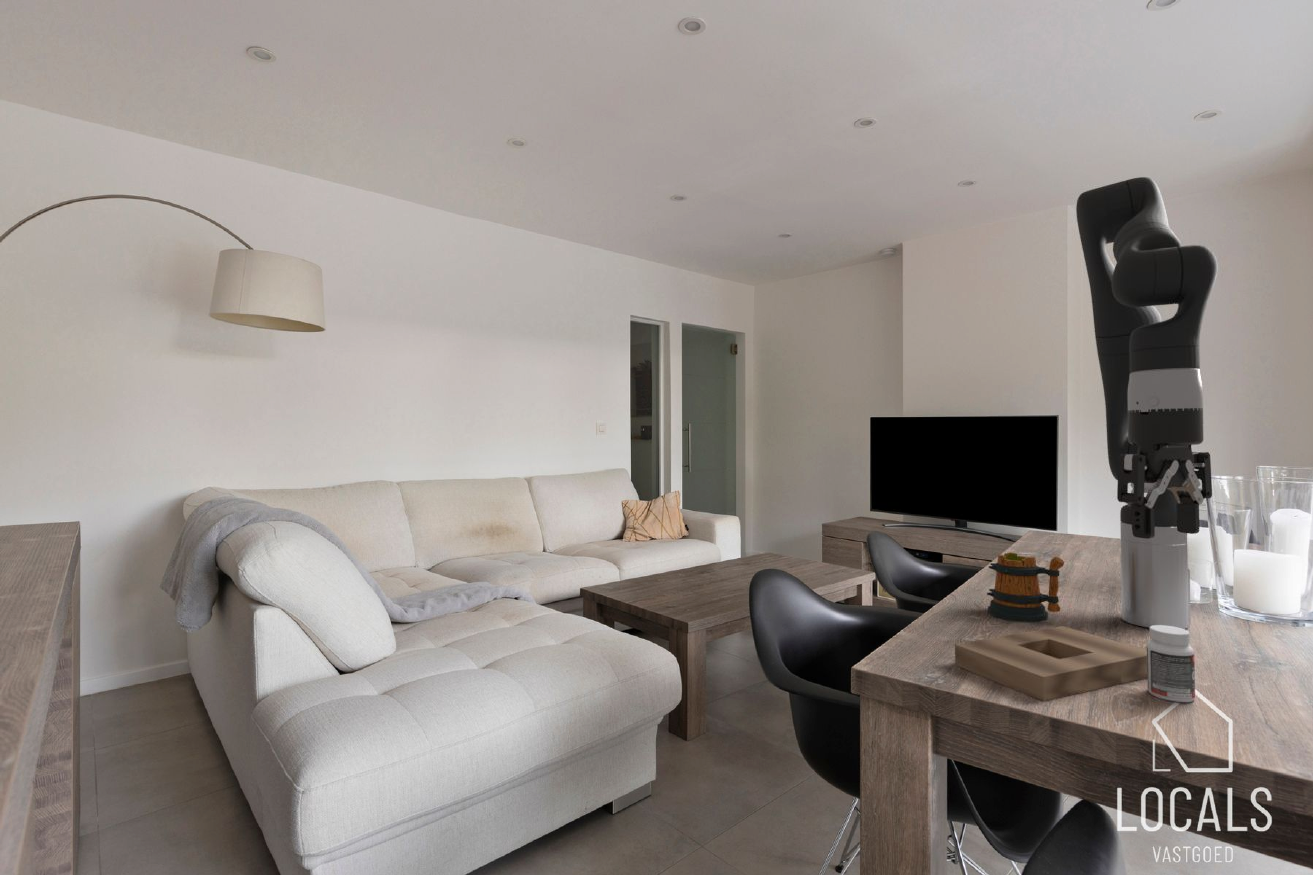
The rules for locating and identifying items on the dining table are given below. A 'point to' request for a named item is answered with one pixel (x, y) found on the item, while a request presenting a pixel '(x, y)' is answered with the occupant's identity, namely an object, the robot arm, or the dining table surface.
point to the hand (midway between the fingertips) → (1166, 535)
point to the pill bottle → (1170, 664)
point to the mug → (1023, 589)
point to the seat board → (1053, 661)
